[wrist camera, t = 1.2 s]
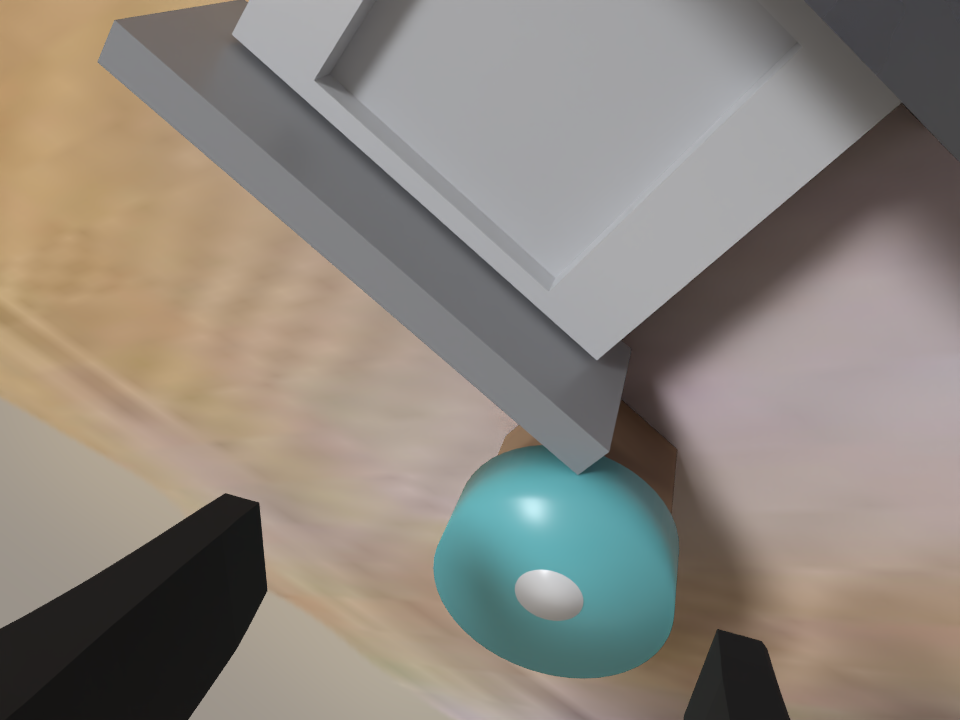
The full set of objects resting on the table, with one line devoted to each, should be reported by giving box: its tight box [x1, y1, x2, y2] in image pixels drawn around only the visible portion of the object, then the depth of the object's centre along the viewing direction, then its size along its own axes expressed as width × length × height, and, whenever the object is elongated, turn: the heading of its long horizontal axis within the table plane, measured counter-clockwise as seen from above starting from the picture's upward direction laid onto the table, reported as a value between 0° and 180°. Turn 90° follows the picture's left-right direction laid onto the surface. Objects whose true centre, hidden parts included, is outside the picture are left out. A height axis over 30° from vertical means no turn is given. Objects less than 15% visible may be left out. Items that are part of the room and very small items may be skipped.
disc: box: [433, 445, 679, 678], centre depth 18 cm, size 6×6×2 cm
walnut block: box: [498, 400, 677, 513], centre depth 20 cm, size 4×4×4 cm
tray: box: [98, 0, 902, 475], centre depth 14 cm, size 13×13×5 cm
